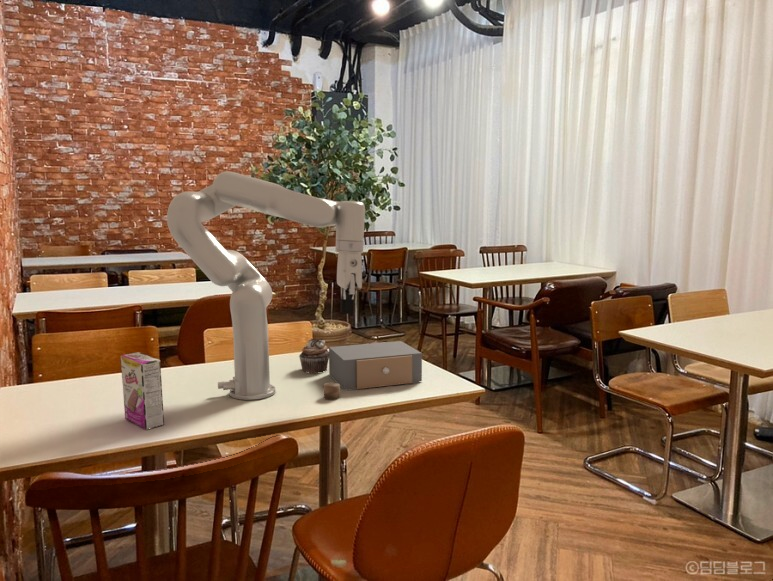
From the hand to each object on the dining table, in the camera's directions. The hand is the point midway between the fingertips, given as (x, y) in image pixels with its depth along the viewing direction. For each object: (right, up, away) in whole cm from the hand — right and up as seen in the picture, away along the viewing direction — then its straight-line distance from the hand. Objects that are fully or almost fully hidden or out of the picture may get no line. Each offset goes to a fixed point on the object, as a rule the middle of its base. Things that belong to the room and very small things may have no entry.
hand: (346, 313), depth 167 cm
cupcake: (-12, -20, +27) cm, 36 cm away
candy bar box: (-48, -26, -20) cm, 58 cm away
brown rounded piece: (-4, -23, -1) cm, 23 cm away
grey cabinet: (+8, -21, +17) cm, 28 cm away
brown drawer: (+8, -20, +16) cm, 27 cm away
